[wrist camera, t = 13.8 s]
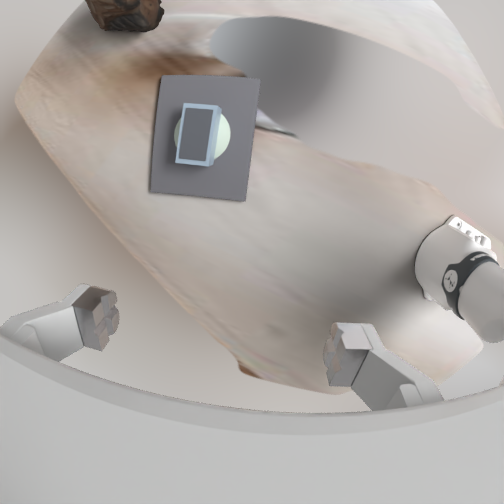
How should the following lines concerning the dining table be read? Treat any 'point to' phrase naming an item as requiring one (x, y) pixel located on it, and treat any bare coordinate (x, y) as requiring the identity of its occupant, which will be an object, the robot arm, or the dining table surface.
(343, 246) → the dining table surface
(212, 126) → the phone
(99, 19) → the brown rock
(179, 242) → the dining table surface
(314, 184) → the dining table surface
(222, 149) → the charging mat
